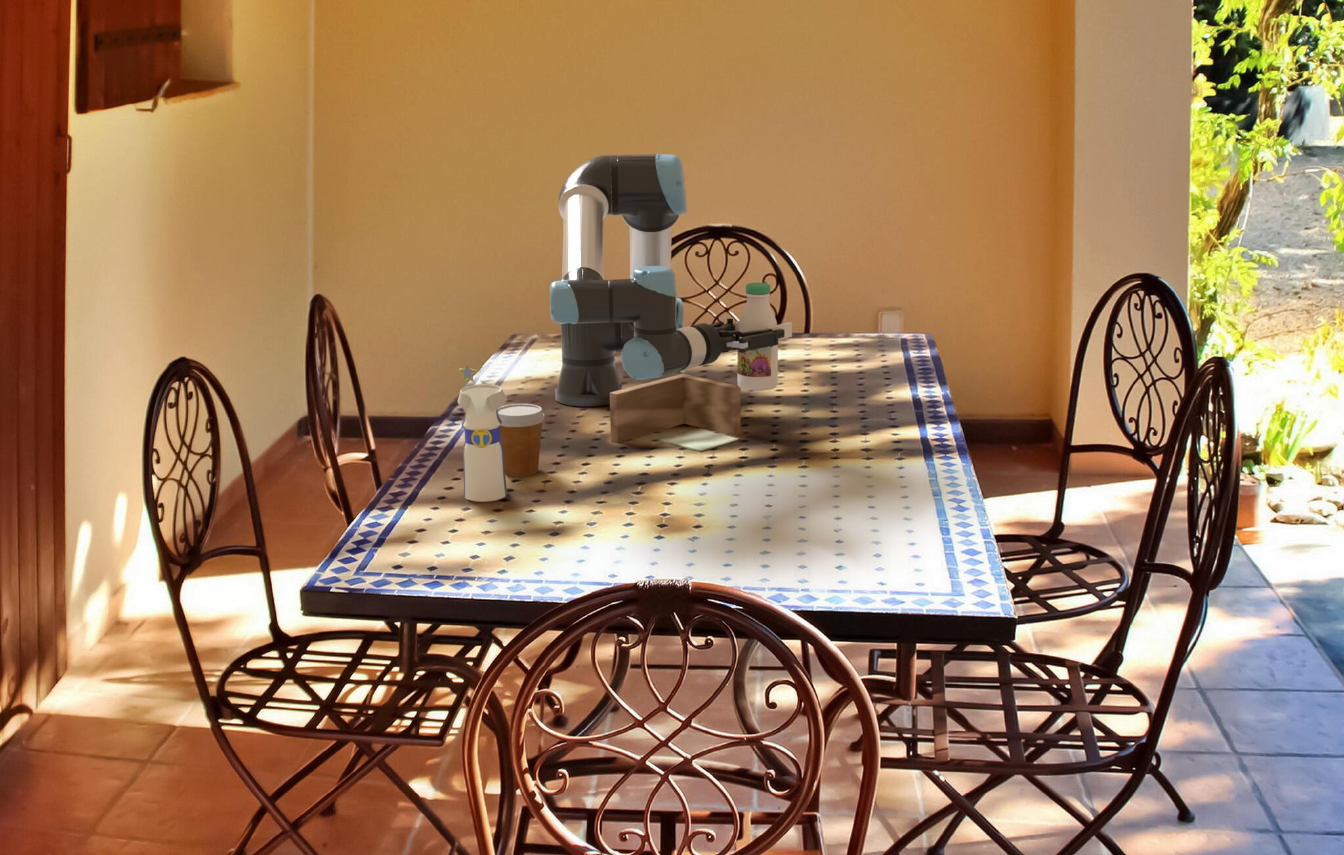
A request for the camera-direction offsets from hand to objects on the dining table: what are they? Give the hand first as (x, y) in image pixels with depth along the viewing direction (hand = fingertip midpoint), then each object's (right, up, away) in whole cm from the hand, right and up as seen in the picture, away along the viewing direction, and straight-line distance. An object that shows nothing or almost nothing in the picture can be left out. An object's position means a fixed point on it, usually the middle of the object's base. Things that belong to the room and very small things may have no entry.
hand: (773, 326), depth 277 cm
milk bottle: (-3, -12, 0) cm, 12 cm away
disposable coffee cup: (-48, -28, -8) cm, 56 cm away
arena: (-18, -22, +11) cm, 30 cm away
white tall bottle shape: (-53, -32, -21) cm, 65 cm away
